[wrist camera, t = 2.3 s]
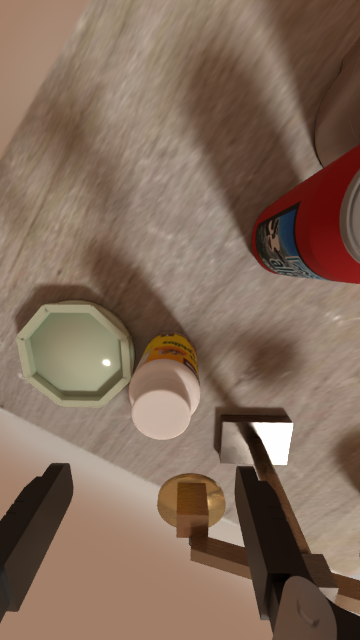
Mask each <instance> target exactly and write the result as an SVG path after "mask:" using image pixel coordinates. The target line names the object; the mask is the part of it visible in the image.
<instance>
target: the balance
mask: <svg viewBox="0 0 360 640" xmlns="http://www.w3.org/2000/svg"><path fill="white" fill-rule="evenodd" d="M292 427H293V422H292V421H291V420H290V418H289V417H288V416H256V415H221V428H220V445H219V458H220V463H231V464H254V465H255V467H256V470H257V473H258V476H259V479H260V481H267V482H268V483H269V484H270V485H271V487H272V488H273V489H274V490H275V492H276V493H277V496H278V498H279V501H280V503H281V506H282V509H283V511H284V513H285V515H286V518H287V522H288V523H289V525H290V528H291V530H292V533H293V535H294V537H295V540H296V542H297V545H298V547H299V550H300V552H301V555H302V557H303V560H304V562H305V564H306V567H307V569H308V572H309V574H310V576H311V578H312V579H313V581H314V583H315V584H316V585H317V587H318V588H319V589H320V591H321V592H322V593H323V594H324V595H325V596H326V597H327V598H328V599H329V600H331V601H332V602H333V603H334V604H336V605H337V606H339V607H341V608H343V609H346V610H349V611H353V612H355V613H358V614H360V581H359V580H356V579H353V578H349V577H346V576H342V575H339V574H335V573H332V572H331V571H330V569H329V567H328V564H327V562H326V560H325V558H324V556H323V554H311V551H310V549H309V547H308V544H307V542H306V540H305V538H304V535H303V533H302V531H301V528H300V526H299V524H298V521H297V519H296V517H295V515H294V512H293V510H292V508H291V505H290V503H289V501H288V498H287V496H286V494H285V492H284V489H283V487H282V485H281V482H280V480H279V478H278V475H277V473H276V471H275V469H274V466H273V464H276V465H286V464H287V457H288V451H289V445H290V439H291V433H292ZM157 507H158V511H159V513H160V515H161V517H162V518H163V519H164V520H165V521H166V522H167V523H168V524H170V525H172V526H174V527H176V528H177V537H179V538H189V545H190V546H191V560H192V561H195V562H198V563H201V564H204V565H207V566H210V567H214V568H217V569H220V570H223V571H226V572H229V573H232V574H236V575H239V576H242V577H245V578H248V579H251V580H252V577H251V573H250V568H249V564H248V559H247V554H246V550H245V547H241V546H238V545H234V544H230V543H227V542H224V541H220V540H217V539H213V538H209V537H208V527H211V526H212V525H214V524H215V523H217V522H218V521H219V520H220V519H221V518H222V516H223V514H224V512H225V498H224V493H223V491H222V489H221V487H220V486H219V485H218V484H217V483H216V482H215V481H214V480H213V479H211V478H209V477H207V476H204V475H201V474H194V473H187V474H181V475H177V476H174V477H172V478H170V479H169V480H167V481H166V482H165V483H164V484H163V485H162V487H161V489H160V491H159V495H158V504H157ZM359 556H360V555H359Z"/></svg>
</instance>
